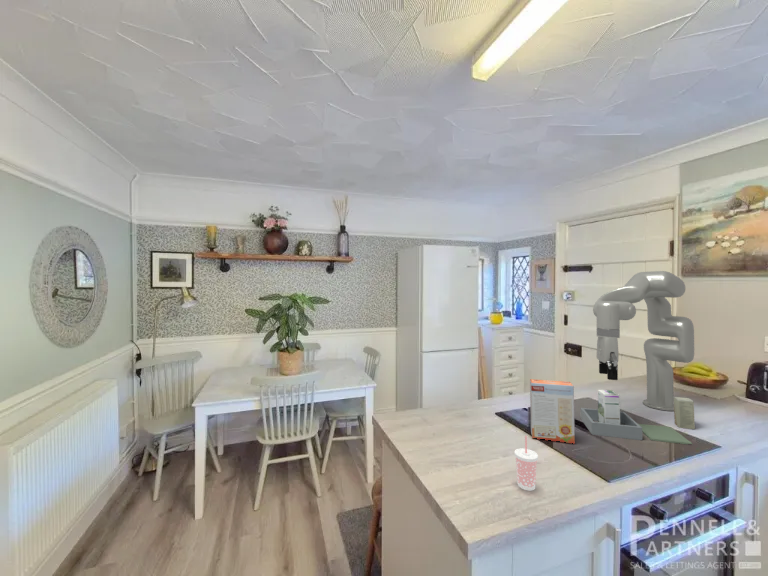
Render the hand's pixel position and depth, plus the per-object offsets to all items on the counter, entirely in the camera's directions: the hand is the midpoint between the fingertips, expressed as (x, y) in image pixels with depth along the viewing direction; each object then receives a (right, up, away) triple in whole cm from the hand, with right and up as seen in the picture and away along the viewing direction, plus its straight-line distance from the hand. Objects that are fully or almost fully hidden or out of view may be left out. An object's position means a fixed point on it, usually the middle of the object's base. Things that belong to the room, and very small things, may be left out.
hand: (608, 376), depth 127 cm
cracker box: (-26, -21, -8) cm, 35 cm away
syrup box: (0, -21, 0) cm, 21 cm away
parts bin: (0, -21, 0) cm, 21 cm away
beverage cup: (-48, -21, -36) cm, 64 cm away
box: (+31, -21, +1) cm, 38 cm away
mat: (+17, -20, -5) cm, 27 cm away
